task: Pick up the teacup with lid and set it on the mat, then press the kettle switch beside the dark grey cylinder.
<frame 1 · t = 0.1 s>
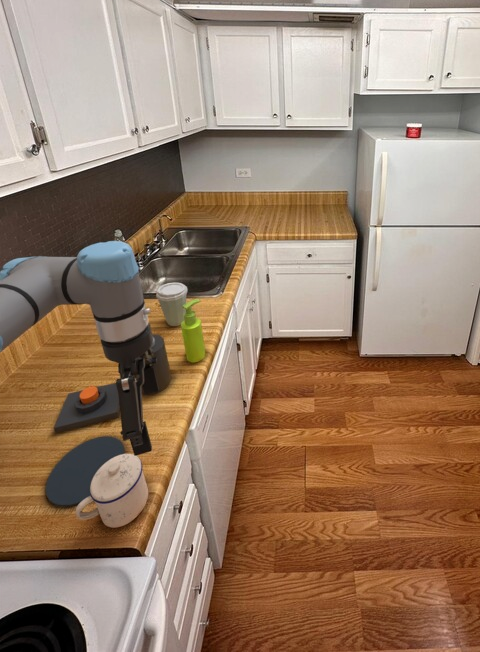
hand: (148, 419, 64), 20 cm above the counter, tool pointing down, fingers open, 13 cm apart
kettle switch: (89, 395, 88), point 5 cm above the counter, slide at 0.1 cm
teacup with lid: (118, 509, 68), on the counter
soap dispenser: (197, 355, 109), on the counter
disposable coffee cup: (177, 321, 125), on the counter
kettle base: (93, 407, 90), on the counter
dark grey cylinder: (155, 382, 98), on the counter
mat: (87, 469, 75), on the counter
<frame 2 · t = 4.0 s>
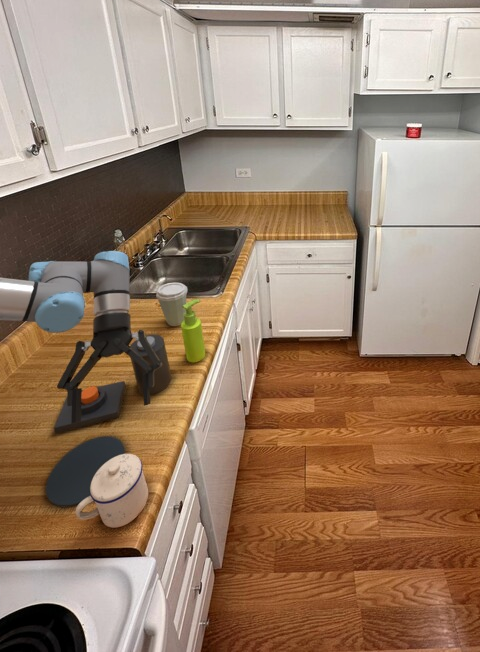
hand: (112, 413, 72), 15 cm above the counter, tool tilted 45°, fingers open, 13 cm apart
nothing on the counter moved.
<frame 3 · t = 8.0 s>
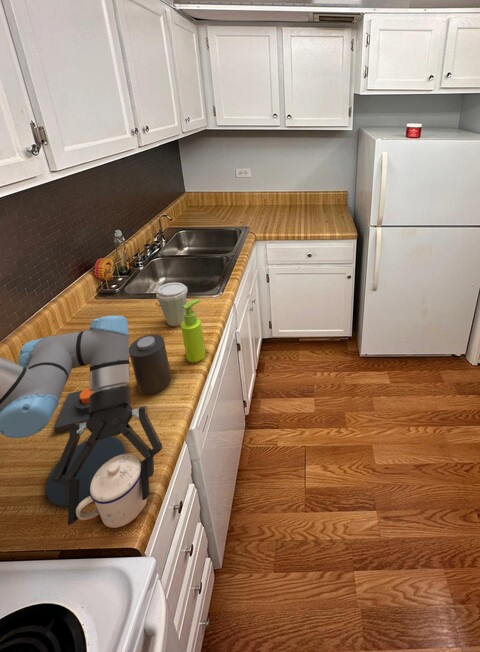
hand: (110, 509, 64), 4 cm above the counter, tool tilted 45°, fingers closed on teacup with lid, 12 cm apart
teacup with lid: (118, 509, 68), on the counter, touching gripper
everything else where it was.
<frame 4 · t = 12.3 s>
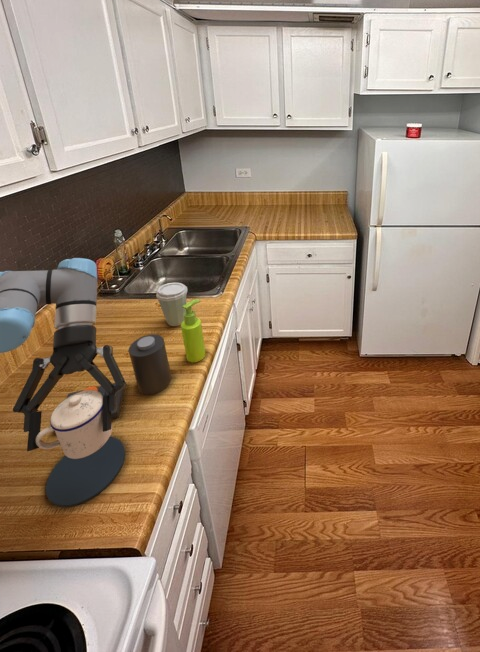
hand: (71, 440, 65), 16 cm above the counter, tool tilted 45°, fingers closed on teacup with lid, 12 cm apart
teacup with lid: (80, 443, 69), point 12 cm above the counter, touching gripper
everything else where it was.
when the fingers open (5 cm above the counter, at t = 16.5 s): teacup with lid stays where it is, resting on mat.
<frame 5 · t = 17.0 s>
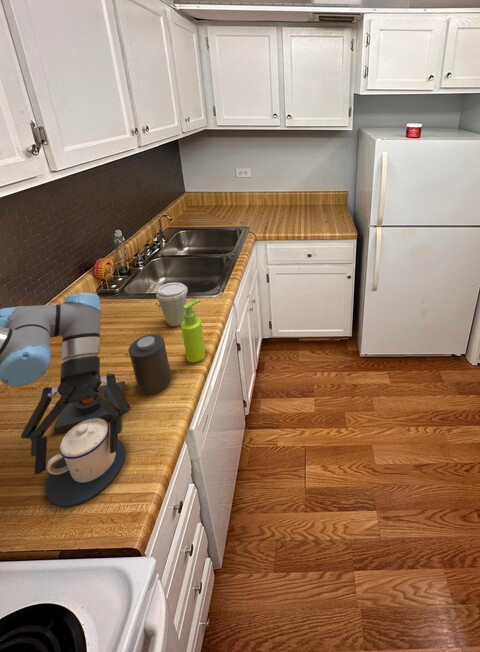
hand: (77, 462, 71), 6 cm above the counter, tool tilted 45°, fingers open, 13 cm apart
teacup with lid: (87, 468, 75), resting on mat
everything else where it was.
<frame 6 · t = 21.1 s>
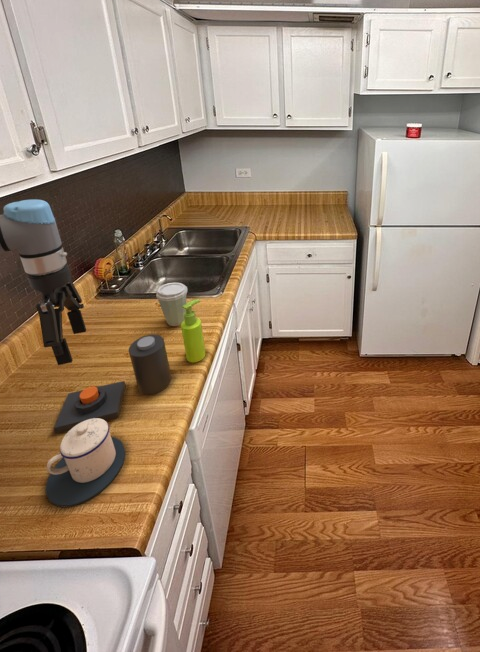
hand: (73, 346, 82), 21 cm above the counter, tool pointing down, fingers open, 11 cm apart
nothing on the counter moved.
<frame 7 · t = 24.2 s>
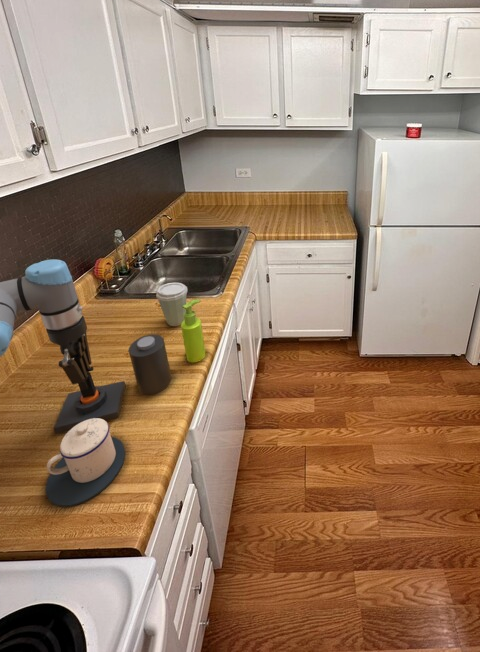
hand: (89, 394, 88), 5 cm above the counter, tool pointing down, fingers closed
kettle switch: (90, 398, 89), point 4 cm above the counter, slide at -0.9 cm, touching gripper
everything else where it was.
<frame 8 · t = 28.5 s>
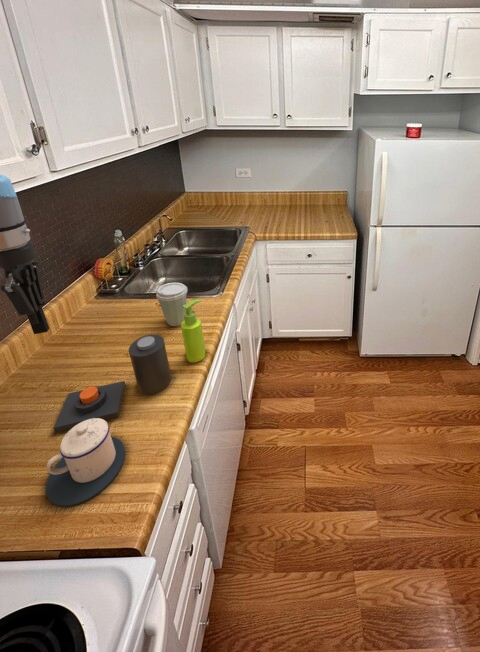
hand: (41, 331, 82), 24 cm above the counter, tool pointing down, fingers closed
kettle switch: (89, 395, 88), point 5 cm above the counter, slide at 0.1 cm
everything else where it was.
at the end: teacup with lid 0.0 cm off-centre on the mat, point 0.4 cm above the mat's base; teacup with lid tilted 0°; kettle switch pushed in 1.2 cm at the most during the clip, back to where it started at the end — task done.
